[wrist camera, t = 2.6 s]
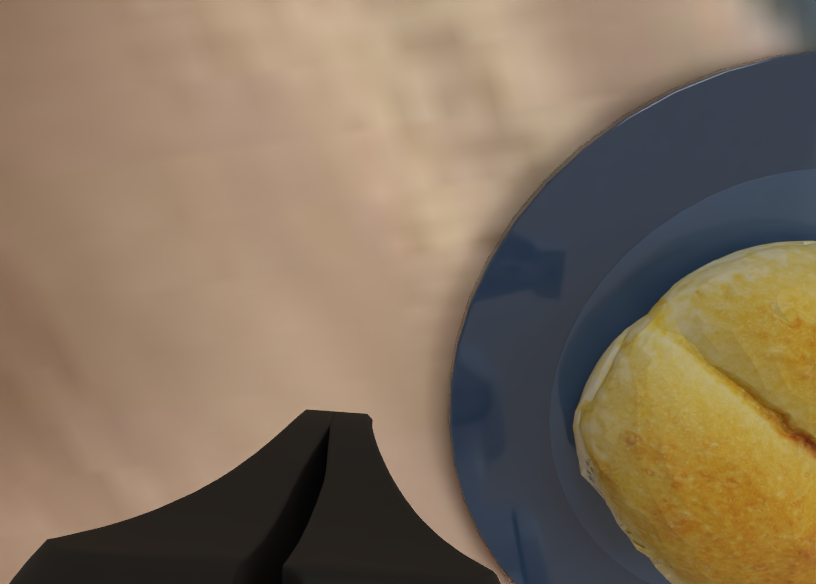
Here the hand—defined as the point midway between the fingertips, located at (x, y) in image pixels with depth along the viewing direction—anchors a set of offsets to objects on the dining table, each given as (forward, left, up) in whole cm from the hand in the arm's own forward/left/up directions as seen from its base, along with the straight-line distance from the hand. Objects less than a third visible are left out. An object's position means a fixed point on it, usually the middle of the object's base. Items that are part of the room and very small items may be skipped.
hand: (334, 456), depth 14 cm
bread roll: (0, -10, -4) cm, 11 cm away
